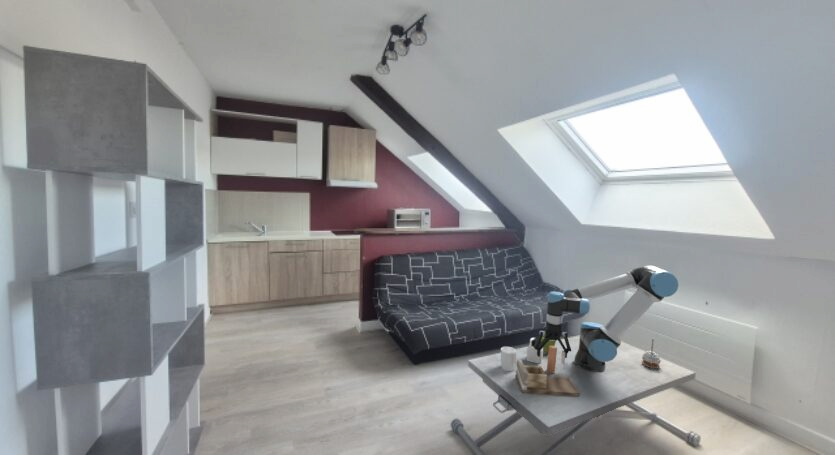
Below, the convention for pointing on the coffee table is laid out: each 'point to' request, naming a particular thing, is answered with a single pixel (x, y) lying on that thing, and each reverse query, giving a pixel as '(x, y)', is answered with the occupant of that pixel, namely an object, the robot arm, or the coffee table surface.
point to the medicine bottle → (533, 352)
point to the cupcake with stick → (651, 358)
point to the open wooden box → (536, 377)
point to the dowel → (551, 359)
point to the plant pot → (548, 344)
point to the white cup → (508, 358)
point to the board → (552, 386)
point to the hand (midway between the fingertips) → (551, 362)
